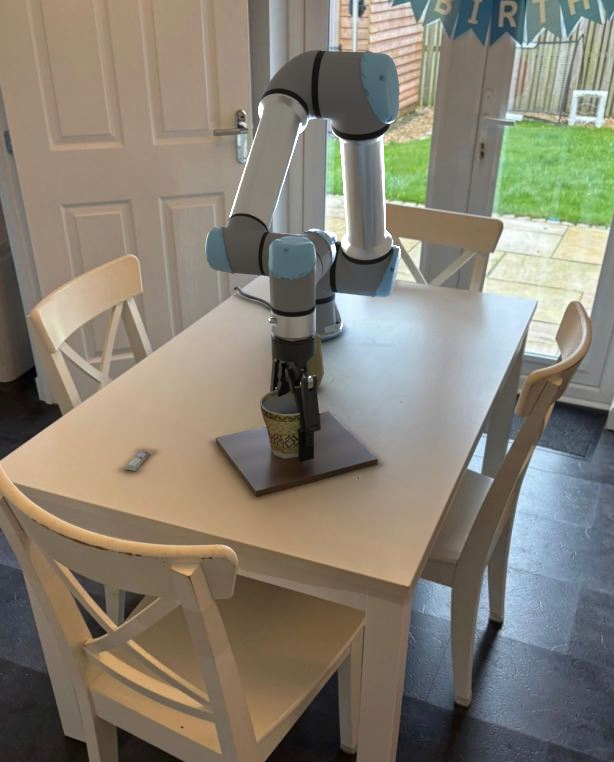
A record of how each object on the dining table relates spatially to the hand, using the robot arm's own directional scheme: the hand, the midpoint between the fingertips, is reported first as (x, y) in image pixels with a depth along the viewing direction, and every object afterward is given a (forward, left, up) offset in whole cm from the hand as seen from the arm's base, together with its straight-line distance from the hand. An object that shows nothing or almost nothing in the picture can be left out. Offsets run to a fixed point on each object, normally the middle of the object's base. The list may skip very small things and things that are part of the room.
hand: (294, 446), depth 145 cm
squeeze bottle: (-23, +13, -2) cm, 26 cm away
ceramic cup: (-1, 0, -1) cm, 1 cm away
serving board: (0, 0, -2) cm, 2 cm away
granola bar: (-10, -27, -2) cm, 29 cm away
